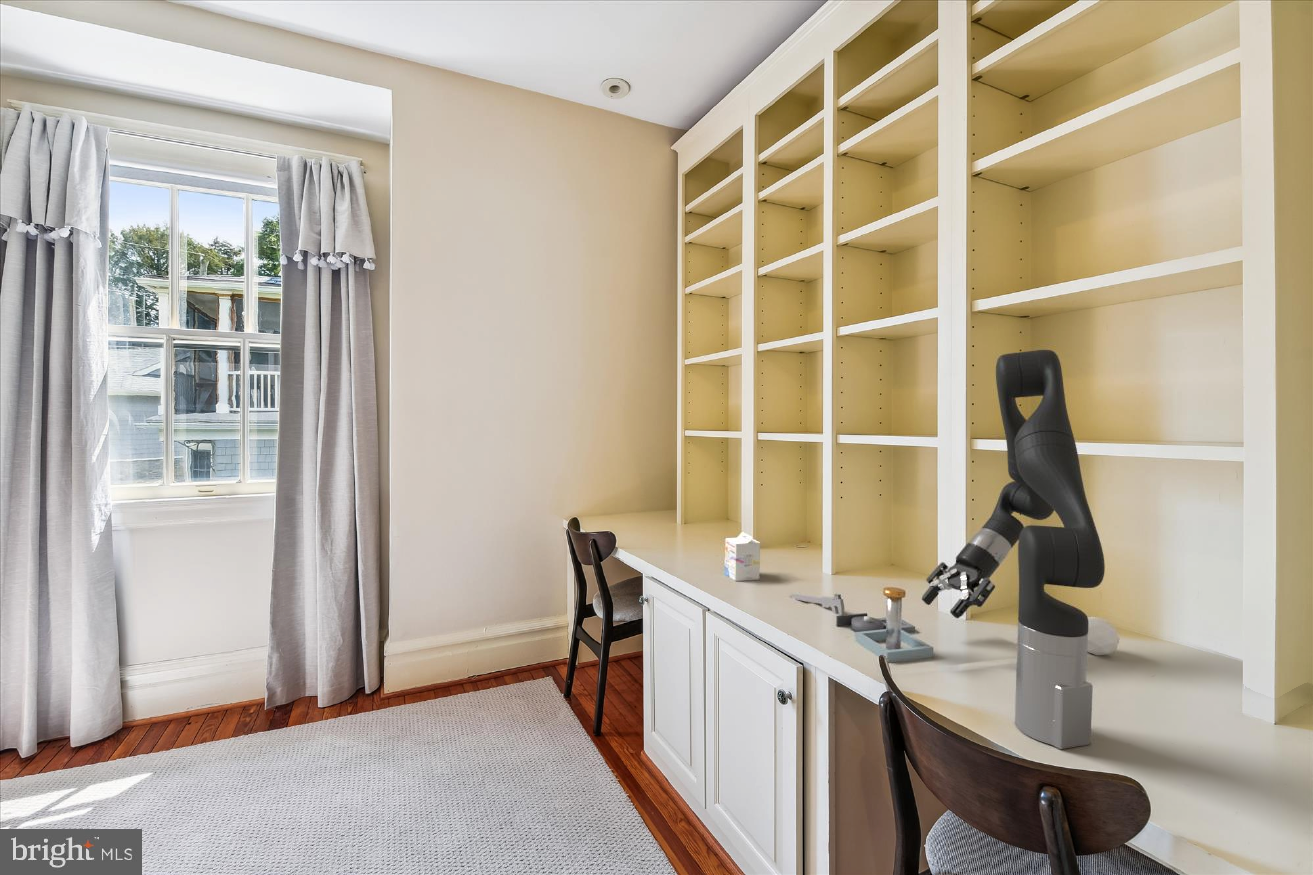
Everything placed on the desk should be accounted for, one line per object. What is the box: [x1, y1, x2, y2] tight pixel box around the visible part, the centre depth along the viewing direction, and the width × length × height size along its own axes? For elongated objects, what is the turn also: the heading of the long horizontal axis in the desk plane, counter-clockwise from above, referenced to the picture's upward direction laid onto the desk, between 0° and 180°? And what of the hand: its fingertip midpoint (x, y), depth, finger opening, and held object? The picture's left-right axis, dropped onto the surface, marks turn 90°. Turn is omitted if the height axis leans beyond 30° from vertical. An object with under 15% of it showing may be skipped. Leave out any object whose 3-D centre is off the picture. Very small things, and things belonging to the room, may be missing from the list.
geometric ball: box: [1087, 616, 1120, 656], centre depth 122 cm, size 8×8×8 cm
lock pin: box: [882, 586, 906, 650], centre depth 121 cm, size 4×4×13 cm
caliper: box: [788, 592, 845, 616], centre depth 150 cm, size 20×1×6 cm, turn 26°
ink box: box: [724, 531, 761, 582], centre depth 178 cm, size 9×8×13 cm
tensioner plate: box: [835, 612, 920, 635], centre depth 132 cm, size 9×16×4 cm, turn 104°
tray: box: [854, 629, 934, 663], centre depth 121 cm, size 11×11×3 cm
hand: (938, 608), depth 124 cm, fingers open, 8 cm apart
